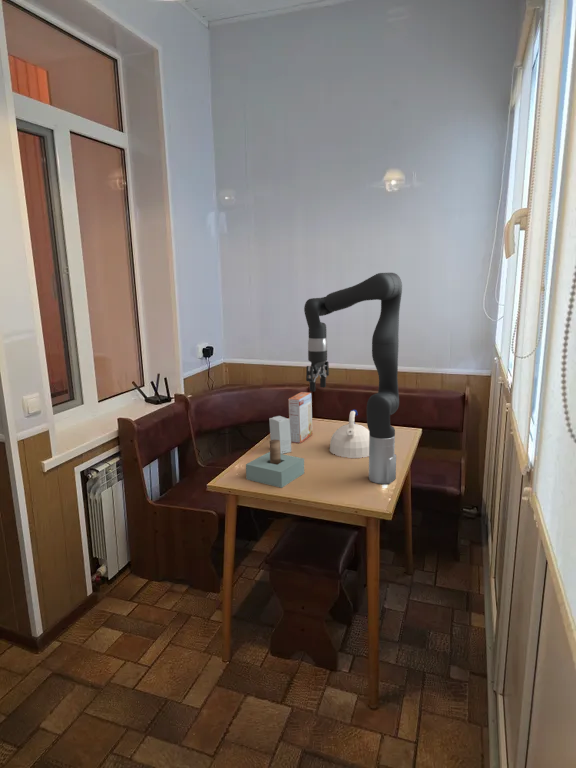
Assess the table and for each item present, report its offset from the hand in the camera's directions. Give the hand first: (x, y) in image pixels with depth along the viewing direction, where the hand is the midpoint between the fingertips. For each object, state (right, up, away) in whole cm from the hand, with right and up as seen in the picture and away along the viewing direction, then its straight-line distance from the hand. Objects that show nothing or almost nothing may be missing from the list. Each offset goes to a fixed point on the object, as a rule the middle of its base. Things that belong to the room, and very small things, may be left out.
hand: (317, 389), depth 206 cm
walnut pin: (-17, -32, -10) cm, 38 cm away
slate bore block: (-17, -33, -9) cm, 38 cm away
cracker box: (-6, -24, +35) cm, 42 cm away
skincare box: (-15, -27, +19) cm, 36 cm away
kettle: (+16, -27, +18) cm, 36 cm away
